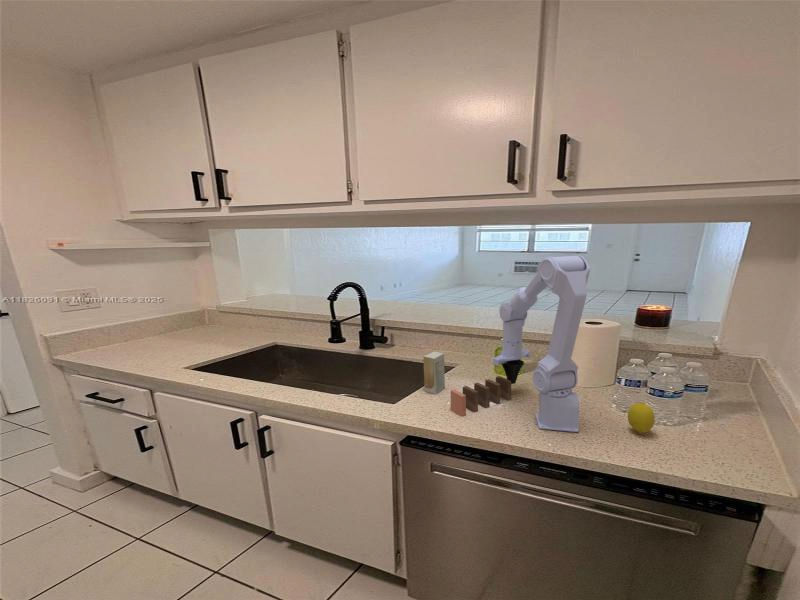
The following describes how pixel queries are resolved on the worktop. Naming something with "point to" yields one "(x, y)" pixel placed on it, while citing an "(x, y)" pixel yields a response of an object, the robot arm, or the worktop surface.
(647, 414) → the lemon
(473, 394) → the domino
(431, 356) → the skincare box
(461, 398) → the domino
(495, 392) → the domino
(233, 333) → the worktop surface
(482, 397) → the domino
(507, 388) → the domino
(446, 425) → the worktop surface
